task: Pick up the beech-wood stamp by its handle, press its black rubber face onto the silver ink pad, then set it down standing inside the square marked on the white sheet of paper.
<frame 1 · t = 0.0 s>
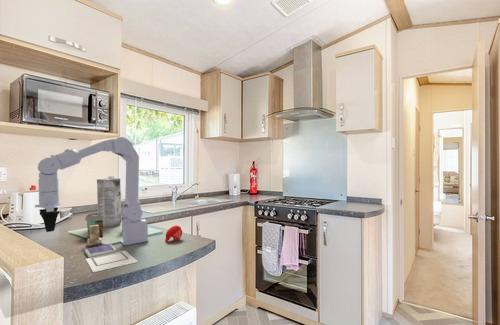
hand: (49, 229, 98), 10 cm above the countertop, tool pointing down, fingers open, 7 cm apart
food container: (93, 236, 127), on the countertop
stamp: (94, 245, 113), on the countertop
red rounded piece: (173, 241, 116), on the countertop
ink box: (129, 230, 138), on the countertop
juice carton: (110, 225, 150), on the countertop
paper: (111, 260, 93), on the countertop
ink pad: (100, 252, 102), on the countertop
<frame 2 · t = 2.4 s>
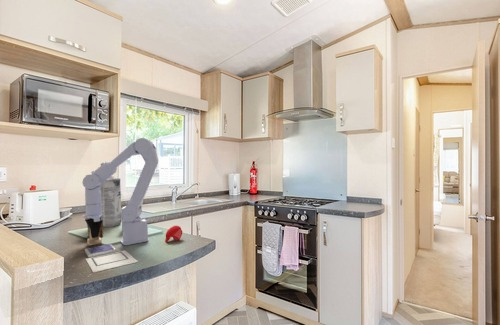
hand: (94, 236, 113), 3 cm above the countertop, tool pointing down, fingers closed on stamp, 3 cm apart
stamp: (94, 244, 113), on the countertop, touching gripper
everything else where it was.
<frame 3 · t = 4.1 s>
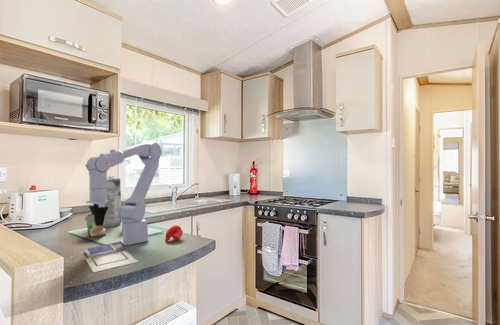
hand: (98, 224, 102), 10 cm above the countertop, tool pointing down, fingers closed on stamp, 3 cm apart
stamp: (97, 236, 102), point 6 cm above the countertop, touching gripper
everything else where it was.
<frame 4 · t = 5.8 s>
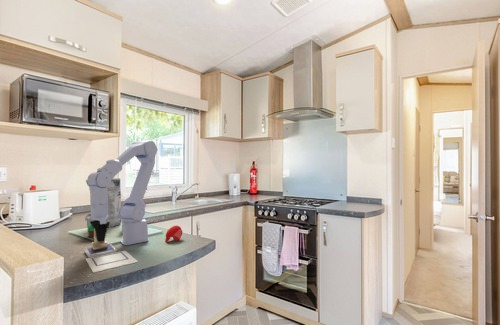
hand: (100, 240, 102), 5 cm above the countertop, tool pointing down, fingers closed on stamp, 3 cm apart
stamp: (99, 248, 102), point 1 cm above the countertop, touching gripper, ink pad
everything else where it was.
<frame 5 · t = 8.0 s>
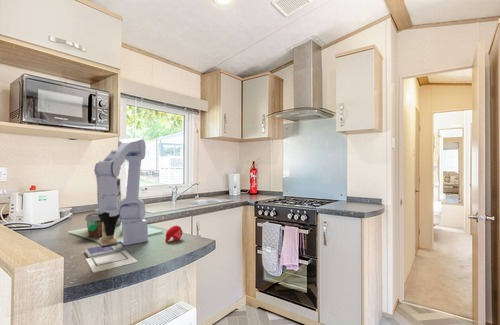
hand: (109, 234, 94), 9 cm above the countertop, tool pointing down, fingers closed on stamp, 3 cm apart
stamp: (108, 245, 94), point 5 cm above the countertop, touching gripper
everything else where it was.
when the fingers open (4 cm above the countertop, at t = 9.3 s): stamp stays where it is, resting on paper.
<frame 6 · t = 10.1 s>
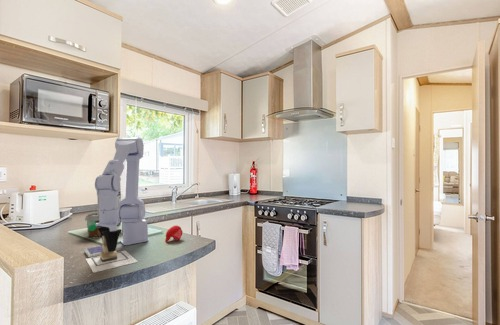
hand: (109, 248, 94), 4 cm above the countertop, tool pointing down, fingers open, 7 cm apart
stamp: (108, 258, 94), resting on paper
everything else where it was.
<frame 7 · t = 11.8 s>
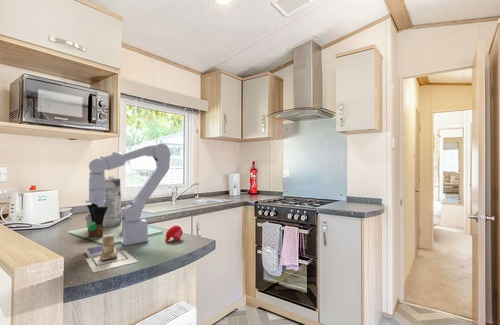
hand: (97, 223, 109), 10 cm above the countertop, tool pointing down, fingers open, 7 cm apart
nothing on the countertop moved.
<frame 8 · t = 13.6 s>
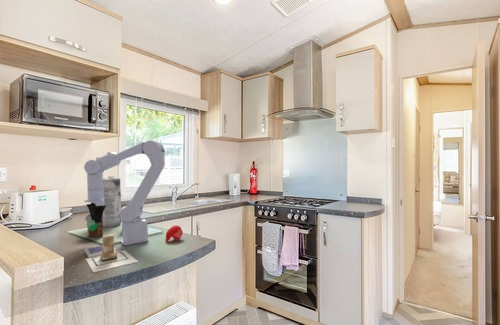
hand: (96, 221, 114), 9 cm above the countertop, tool pointing down, fingers open, 7 cm apart
nothing on the countertop moved.
at the end: stamp 0.4 cm from the target spot on the paper, point 0.2 cm above the paper's base; stamp tilted 0°; the gripper is holding nothing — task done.
